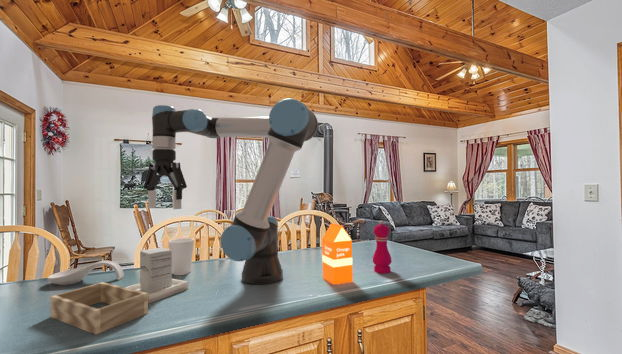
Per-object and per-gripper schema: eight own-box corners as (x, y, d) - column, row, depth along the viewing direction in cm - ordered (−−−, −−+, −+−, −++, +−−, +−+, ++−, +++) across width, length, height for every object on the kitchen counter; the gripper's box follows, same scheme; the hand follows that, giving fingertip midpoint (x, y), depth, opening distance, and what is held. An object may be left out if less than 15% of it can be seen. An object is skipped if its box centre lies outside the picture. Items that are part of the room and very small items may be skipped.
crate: (147, 313, 82) (147, 293, 82) (95, 334, 71) (95, 311, 71) (102, 300, 92) (102, 282, 92) (50, 316, 81) (50, 296, 81)
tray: (188, 288, 101) (188, 281, 101) (149, 303, 89) (149, 295, 89) (161, 283, 108) (161, 276, 108) (121, 296, 95) (121, 288, 95)
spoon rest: (39, 289, 103) (39, 268, 104) (60, 279, 115) (60, 260, 115) (115, 284, 108) (115, 264, 109) (128, 274, 120) (128, 256, 120)
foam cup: (198, 269, 124) (198, 238, 125) (186, 276, 115) (186, 242, 116) (176, 269, 125) (176, 238, 126) (163, 276, 116) (163, 242, 116)
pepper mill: (394, 270, 119) (393, 219, 120) (388, 275, 113) (387, 221, 114) (376, 267, 123) (375, 218, 124) (370, 272, 117) (369, 220, 117)
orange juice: (333, 285, 103) (332, 226, 103) (322, 277, 111) (321, 223, 111) (353, 281, 106) (352, 224, 107) (340, 274, 114) (339, 222, 115)
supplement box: (139, 289, 98) (139, 250, 98) (162, 283, 103) (162, 246, 104) (148, 294, 93) (148, 253, 93) (172, 288, 99) (172, 249, 99)
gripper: (197, 148, 106) (197, 208, 105) (151, 152, 117) (151, 207, 117) (179, 145, 99) (179, 210, 98) (132, 150, 110) (132, 208, 110)
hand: (164, 208), depth 108 cm, fingers open, 13 cm apart
